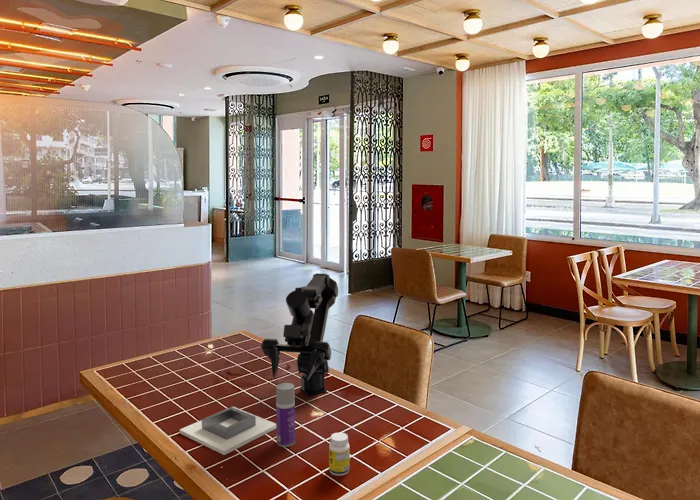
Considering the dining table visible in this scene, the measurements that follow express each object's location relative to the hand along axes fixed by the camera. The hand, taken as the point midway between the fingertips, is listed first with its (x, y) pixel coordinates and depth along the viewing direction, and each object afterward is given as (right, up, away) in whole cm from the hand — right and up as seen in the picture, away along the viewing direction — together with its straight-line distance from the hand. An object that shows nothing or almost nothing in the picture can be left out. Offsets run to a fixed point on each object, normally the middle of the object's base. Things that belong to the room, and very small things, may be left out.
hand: (290, 378), depth 142 cm
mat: (-16, -14, 0) cm, 22 cm away
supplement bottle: (+13, -17, -19) cm, 29 cm away
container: (-1, -15, -6) cm, 16 cm away
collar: (-16, -14, 0) cm, 22 cm away
